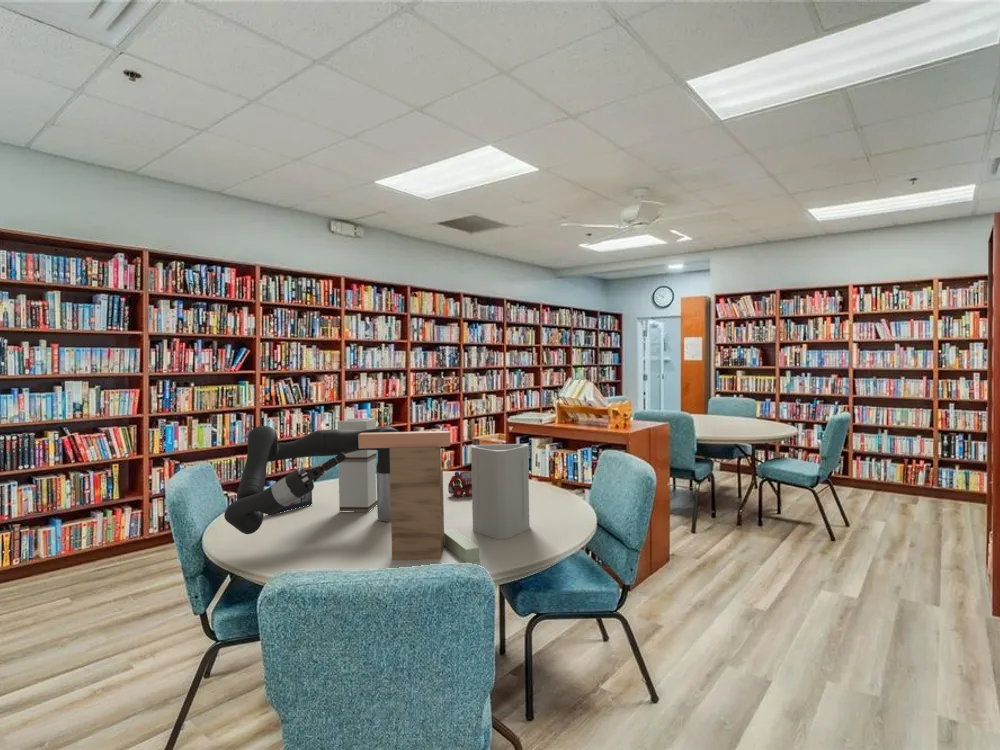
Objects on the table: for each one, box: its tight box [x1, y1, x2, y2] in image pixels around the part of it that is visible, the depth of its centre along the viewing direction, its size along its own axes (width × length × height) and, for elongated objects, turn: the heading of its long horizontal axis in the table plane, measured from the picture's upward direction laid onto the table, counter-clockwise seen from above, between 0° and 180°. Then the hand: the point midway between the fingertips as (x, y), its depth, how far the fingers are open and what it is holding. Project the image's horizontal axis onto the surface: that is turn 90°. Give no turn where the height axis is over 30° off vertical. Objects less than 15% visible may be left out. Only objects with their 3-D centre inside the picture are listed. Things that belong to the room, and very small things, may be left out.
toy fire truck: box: [447, 470, 472, 498], centre depth 230 cm, size 7×12×10 cm, turn 105°
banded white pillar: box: [336, 417, 377, 513], centre depth 211 cm, size 11×11×35 cm
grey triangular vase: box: [470, 443, 530, 540], centre depth 178 cm, size 19×15×28 cm
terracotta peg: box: [358, 430, 451, 448], centre depth 157 cm, size 4×26×4 cm, turn 91°
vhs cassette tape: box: [268, 490, 313, 516], centre depth 212 cm, size 18×3×10 cm, turn 143°
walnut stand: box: [390, 447, 445, 561], centre depth 160 cm, size 12×14×32 cm
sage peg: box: [444, 528, 481, 563], centre depth 161 cm, size 20×4×4 cm, turn 26°
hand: (340, 457), depth 156 cm, fingers open, 8 cm apart
